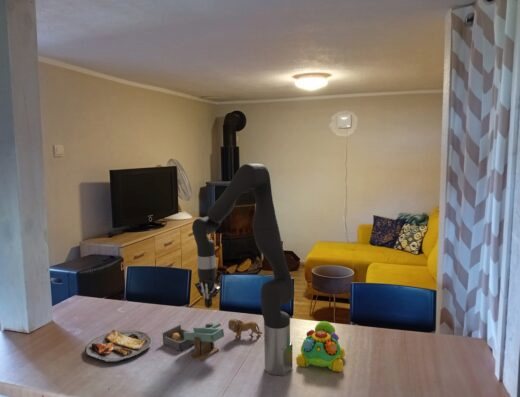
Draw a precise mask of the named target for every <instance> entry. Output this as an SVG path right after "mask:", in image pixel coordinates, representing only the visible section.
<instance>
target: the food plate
mask: <svg viewBox="0 0 520 397" xmlns="http://www.w3.org/2000/svg"><path fill="white" fill-rule="evenodd" d="M152 343H153V338H152V337H151V336H150V335H149V334H148V333H146V332H142V331H139V330H130V329H127V330H115V329H113V330H111V331H110V332H109V333H105V334H103V335H100V336H97V337H95V338H94V339H92V340H91V341H90V342H89V343H88V344H87V345H86V346H85V349H84V350H85V354H86V355H88V356H90V357H91V358H95V359H97V360H102V361H104V362H120V361H122V360H125V359H129V358H131V357H133V356H137V355H139V354H140V353H143V352H144V351H146V350H147V349H148V348H150V347H151V345H152ZM134 351H135V352H134ZM118 356H121V357H118Z"/></svg>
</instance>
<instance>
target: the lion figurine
mask: <svg viewBox="0 0 520 397" xmlns="http://www.w3.org/2000/svg"><path fill="white" fill-rule="evenodd" d="M227 326H228V327H227V328H228V329H229V331H231V332H233V333H236V335H235V336H234V337H235V338H237V340H238V341H241V338H242V332H248V331H249V330H251V333H249V334H248V335H249V336H252V335H253V334H254V333H255V334H256V335H255V336H256V337H255V338H256V339H259V338H260V336H261V335H262V334H263V333H262V332H261V331H260V326H259V325H258V323H257V322H256V321H254V320H253V321H246V322H243V321H241V319H240V320H239V319H237V318H231V319H229V321H228V325H227Z"/></svg>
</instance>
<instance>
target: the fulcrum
mask: <svg viewBox="0 0 520 397" xmlns="http://www.w3.org/2000/svg"><path fill="white" fill-rule="evenodd" d="M214 343H215V342H205V341H200V338H197V337H194V346H193V347H194V352H192V353H191V354H189V358H192V359H194V360H197V361H198V362H202V361H204V360H206V359H209V357H212V355H214V354H215V353H218V352H220V348H218V347H215V344H214Z"/></svg>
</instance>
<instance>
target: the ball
mask: <svg viewBox="0 0 520 397" xmlns="http://www.w3.org/2000/svg"><path fill="white" fill-rule="evenodd" d="M179 338H180V335H179V334H178V333H174V334H173V335H172V339H173V340H176V341H178V340H179Z"/></svg>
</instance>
